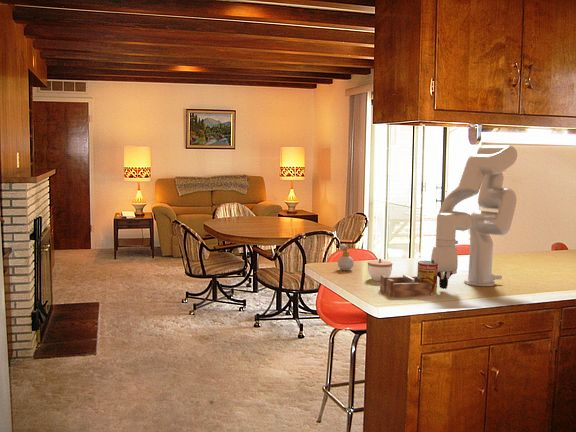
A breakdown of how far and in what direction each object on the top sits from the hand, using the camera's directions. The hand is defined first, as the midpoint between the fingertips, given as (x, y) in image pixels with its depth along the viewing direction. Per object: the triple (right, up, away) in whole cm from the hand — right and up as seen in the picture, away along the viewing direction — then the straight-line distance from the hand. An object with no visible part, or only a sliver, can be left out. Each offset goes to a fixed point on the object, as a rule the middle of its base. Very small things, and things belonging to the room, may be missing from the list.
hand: (443, 288), depth 250 cm
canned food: (-7, -2, -1) cm, 7 cm away
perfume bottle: (-37, +4, +42) cm, 56 cm away
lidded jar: (-23, +1, +21) cm, 31 cm away
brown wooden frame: (-16, -1, -3) cm, 16 cm away
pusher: (-19, -1, -4) cm, 20 cm away
